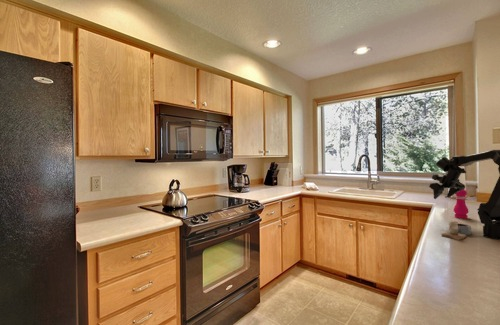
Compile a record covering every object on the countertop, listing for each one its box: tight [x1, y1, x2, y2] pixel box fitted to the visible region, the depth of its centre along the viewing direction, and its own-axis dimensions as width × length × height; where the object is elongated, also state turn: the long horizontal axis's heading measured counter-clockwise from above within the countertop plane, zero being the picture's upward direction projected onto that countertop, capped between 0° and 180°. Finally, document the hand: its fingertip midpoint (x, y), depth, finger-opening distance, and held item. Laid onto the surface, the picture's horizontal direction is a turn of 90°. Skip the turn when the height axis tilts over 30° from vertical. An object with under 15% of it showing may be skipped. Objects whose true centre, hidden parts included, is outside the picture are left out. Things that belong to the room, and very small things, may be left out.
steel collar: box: [458, 222, 472, 236], centre depth 123 cm, size 7×7×4 cm
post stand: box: [441, 220, 467, 241], centre depth 117 cm, size 7×7×7 cm
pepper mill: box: [453, 189, 470, 220], centre depth 154 cm, size 7×7×20 cm
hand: (441, 197), depth 145 cm, fingers open, 9 cm apart
